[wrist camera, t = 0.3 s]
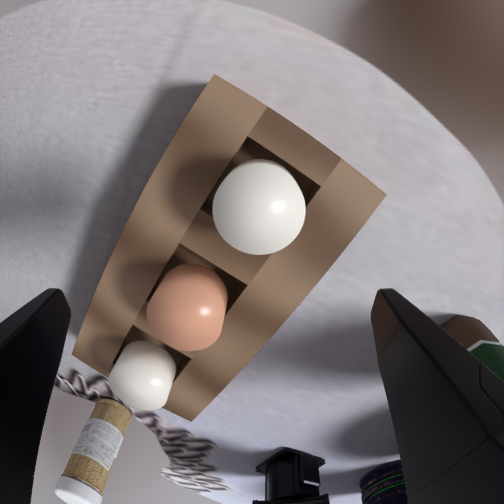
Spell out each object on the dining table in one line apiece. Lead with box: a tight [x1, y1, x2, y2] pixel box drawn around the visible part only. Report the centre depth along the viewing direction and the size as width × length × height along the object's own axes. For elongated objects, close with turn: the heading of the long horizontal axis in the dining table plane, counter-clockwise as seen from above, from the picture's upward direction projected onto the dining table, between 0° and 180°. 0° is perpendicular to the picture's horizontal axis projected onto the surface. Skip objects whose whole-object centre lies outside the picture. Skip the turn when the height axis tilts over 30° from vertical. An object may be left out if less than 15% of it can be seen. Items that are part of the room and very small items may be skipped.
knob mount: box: [72, 74, 386, 422], centre depth 23 cm, size 24×12×4 cm, turn 146°
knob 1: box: [109, 341, 176, 410], centre depth 22 cm, size 4×4×3 cm
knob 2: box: [212, 159, 306, 255], centre depth 17 cm, size 4×4×3 cm
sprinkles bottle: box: [54, 398, 131, 504], centre depth 25 cm, size 5×5×14 cm
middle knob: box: [147, 263, 228, 351], centre depth 19 cm, size 4×4×3 cm
